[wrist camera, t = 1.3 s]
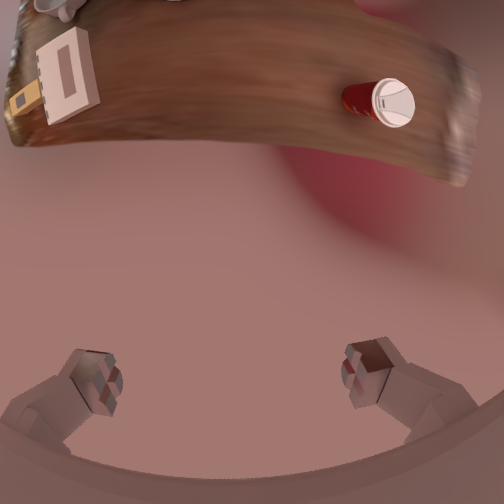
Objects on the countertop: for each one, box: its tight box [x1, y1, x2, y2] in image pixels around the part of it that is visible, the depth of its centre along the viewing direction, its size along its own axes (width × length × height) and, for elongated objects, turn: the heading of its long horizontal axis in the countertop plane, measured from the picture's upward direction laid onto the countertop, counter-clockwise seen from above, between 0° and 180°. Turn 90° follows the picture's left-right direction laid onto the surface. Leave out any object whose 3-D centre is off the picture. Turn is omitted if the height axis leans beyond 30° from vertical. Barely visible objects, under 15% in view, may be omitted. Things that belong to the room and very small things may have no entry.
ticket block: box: [36, 26, 101, 125], centre depth 30 cm, size 16×9×5 cm, turn 10°
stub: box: [10, 78, 44, 117], centre depth 30 cm, size 4×8×5 cm, turn 100°
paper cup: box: [342, 78, 415, 127], centre depth 35 cm, size 8×8×14 cm
